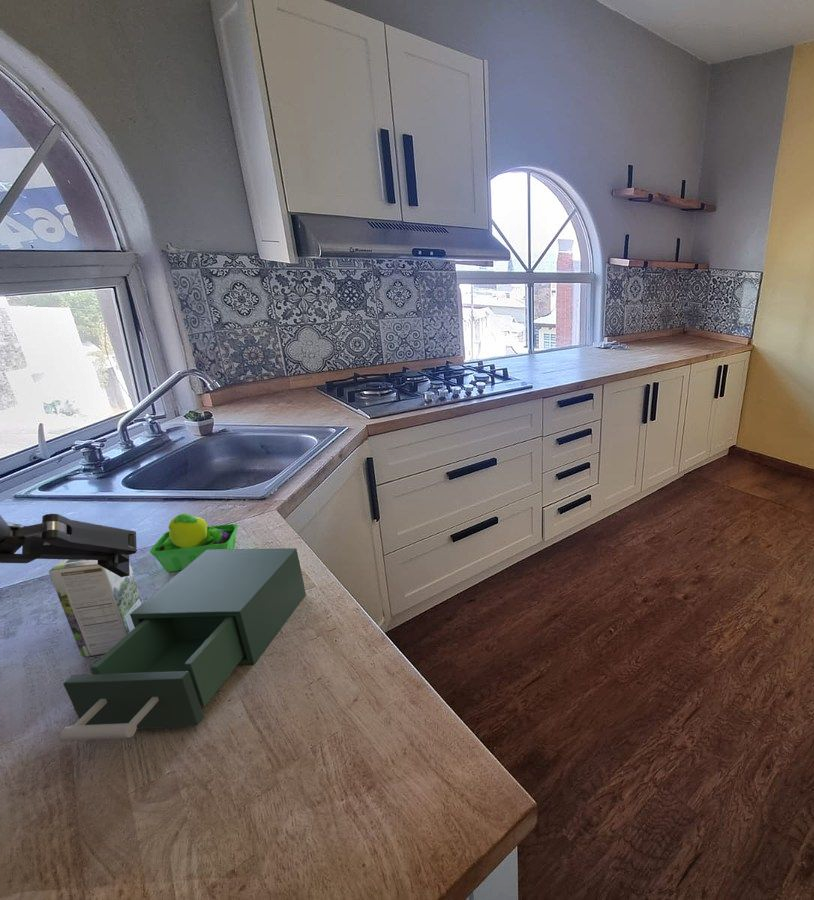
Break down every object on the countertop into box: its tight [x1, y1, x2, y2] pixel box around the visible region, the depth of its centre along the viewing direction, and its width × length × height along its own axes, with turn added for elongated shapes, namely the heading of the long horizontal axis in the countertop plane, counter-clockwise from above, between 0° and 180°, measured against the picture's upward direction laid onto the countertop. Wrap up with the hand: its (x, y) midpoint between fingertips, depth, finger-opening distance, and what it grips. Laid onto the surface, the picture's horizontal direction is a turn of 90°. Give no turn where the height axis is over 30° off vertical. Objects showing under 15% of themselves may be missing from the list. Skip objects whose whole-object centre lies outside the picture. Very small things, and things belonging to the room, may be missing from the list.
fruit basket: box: [149, 513, 239, 573], centre depth 89 cm, size 11×9×11 cm
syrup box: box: [48, 559, 144, 658], centre depth 70 cm, size 6×6×14 cm
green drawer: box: [59, 616, 245, 742], centre depth 62 cm, size 19×12×7 cm, turn 5°
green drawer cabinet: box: [130, 547, 307, 666], centre depth 74 cm, size 16×14×9 cm
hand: (48, 580), depth 58 cm, fingers open, 13 cm apart
